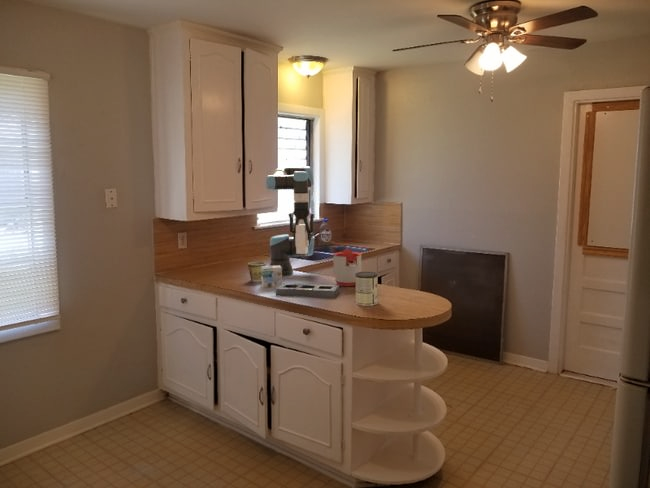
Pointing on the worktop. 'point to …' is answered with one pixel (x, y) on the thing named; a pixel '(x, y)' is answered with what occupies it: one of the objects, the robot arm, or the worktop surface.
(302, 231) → the beige square block
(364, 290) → the coffee can
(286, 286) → the grey flat slotted block
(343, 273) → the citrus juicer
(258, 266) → the ceramic cup
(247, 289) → the worktop surface
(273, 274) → the light bulb box
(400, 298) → the worktop surface
